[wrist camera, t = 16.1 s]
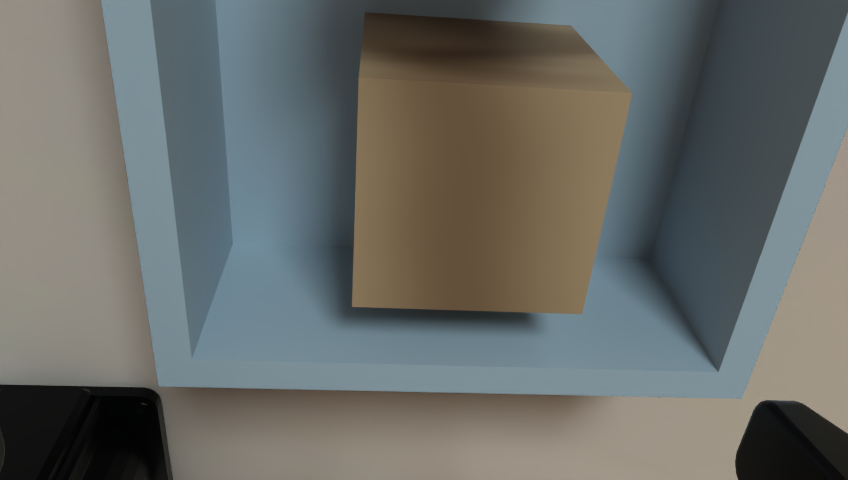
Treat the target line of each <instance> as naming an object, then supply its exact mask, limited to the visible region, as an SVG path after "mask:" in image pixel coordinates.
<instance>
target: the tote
mask: <svg viewBox="0 0 848 480" xmlns="http://www.w3.org/2000/svg"><path fill="white" fill-rule="evenodd" d="M101 4H102V10H103V17H104V24H105V31H106V37H107V44H108V51H109V57H110V64H111V71H112V78H113V84H114V91H115V98H116V104H117V111H118V118H119V125H120V131H121V138H122V145H123V151H124V158H125V165H126V172H127V178H128V185H129V192H130V198H131V205H132V212H133V219H134V225H135V232H136V239H137V245H138V252H139V259H140V266H141V272H142V279H143V286H144V292H145V299H146V306H147V313H148V319H149V326H150V333H151V339H152V346H153V353H154V360H155V366H156V373H157V380H158V386H160V387H208V388H255V389H302V390H350V391H397V392H445V393H492V394H539V395H587V396H634V397H682V398H729V399H742V396H743V394H744V391H745V389H746V386H747V384H748V381H749V378H750V376H751V373H752V371H753V368H754V366H755V363H756V361H757V358H758V355H759V353H760V350H761V348H762V345H763V343H764V340H765V337H766V335H767V332H768V330H769V327H770V325H771V322H772V319H773V317H774V314H775V312H776V309H777V307H778V304H779V301H780V299H781V296H782V294H783V291H784V289H785V286H786V283H787V281H788V278H789V276H790V273H791V271H792V268H793V265H794V263H795V260H796V258H797V255H798V253H799V250H800V247H801V245H802V242H803V240H804V237H805V235H806V232H807V229H808V227H809V224H810V222H811V219H812V217H813V214H814V212H815V209H816V206H817V204H818V201H819V199H820V196H821V194H822V191H823V188H824V186H825V183H826V181H827V178H828V176H829V173H830V170H831V168H832V165H833V163H834V160H835V158H836V155H837V152H838V150H839V147H840V145H841V142H842V140H843V137H844V134H845V132H846V129H847V127H848V0H101ZM365 12H368V13H384V14H399V15H415V16H430V17H446V18H462V19H477V20H493V21H508V22H524V23H540V24H555V25H571V26H572V27H573V28H574V29H575V30H576V31H577V33H578V34H579V35H580V36H581V37H582V38H583V39H584V40H585V41H586V43H587V44H588V45H589V46H590V47H591V48H592V49H593V50H594V51H595V52H596V54H597V55H598V56H599V57H600V58H601V59H602V60H603V61H604V62H605V64H606V65H607V66H608V67H609V68H610V69H611V70H612V71H613V72H614V73H615V75H616V76H617V77H618V78H619V79H620V80H621V81H622V82H623V83H624V85H625V86H626V87H627V88H628V89H629V90H630V91H631V92H632V97H631V101H630V106H629V110H628V114H627V119H626V123H625V128H624V132H623V136H622V141H621V145H620V150H619V154H618V158H617V163H616V167H615V172H614V176H613V181H612V185H611V189H610V194H609V198H608V203H607V207H606V211H605V216H604V220H603V225H602V229H601V233H600V238H599V242H598V247H597V251H596V256H595V260H594V264H593V269H592V273H591V278H590V282H589V286H588V291H587V295H586V300H585V304H584V308H583V313H582V314H559V313H527V312H496V311H465V310H433V309H402V308H370V307H352V291H353V257H354V222H355V188H356V153H357V119H358V84H359V69H360V59H361V48H362V38H363V28H364V17H365Z"/></svg>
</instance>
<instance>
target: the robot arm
mask: <svg viewBox="0 0 848 480" xmlns="http://www.w3.org/2000/svg"><path fill="white" fill-rule="evenodd" d="M139 402H143V403H146V404H147V405H142V404H140V403H139ZM735 467H736V474H737V478H738V480H848V434H847V433H846V432H844V431H843V430H841V429H840V428H838V427H837V426H835V425H834V424H832V423H831V422H830V421H828V420H827V419H825V418H824V417H822V416H821V415H819V414H818V413H816V412H815V411H813V410H812V409H810V408H809V407H807V406H806V405H804V404H802V403H800V402H796V401H776V400H766V401H762V402H760V403H759V404H758V405H757V406H756V407H755V409H754V411H753V413H752V416H751V418H750V421H749V423H748V425H747V428H746V430H745V433H744V435H743V438H742V440H741V443H740V445H739V448H738V450H737V454H736V460H735ZM0 480H173V479H172V472H171V465H170V458H169V452H168V445H167V438H166V431H165V425H164V418H163V411H162V405H161V399H160V397H159V395H158V394H157V393H156V392H155V391H153V390H151V389H148V388H136V387H88V386H40V385H0Z"/></svg>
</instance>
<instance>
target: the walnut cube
mask: <svg viewBox="0 0 848 480" xmlns="http://www.w3.org/2000/svg"><path fill="white" fill-rule="evenodd" d="M631 97H632V92H631V91H630V90H629V89H628V88H627V87H626V86H625V85H624V83H623V82H622V81H621V80H620V79H619V78H618V77H617V76H616V75H615V73H614V72H613V71H612V70H611V69H610V68H609V67H608V66H607V65H606V64H605V62H604V61H603V60H602V59H601V58H600V57H599V56H598V55H597V54H596V52H595V51H594V50H593V49H592V48H591V47H590V46H589V45H588V44H587V43H586V41H585V40H584V39H583V38H582V37H581V36H580V35H579V34H578V33H577V31H576V30H575V29H574V28H573V27H572V26H571V25H555V24H540V23H524V22H508V21H493V20H477V19H462V18H446V17H430V16H415V15H399V14H384V13H368V12H365V17H364V28H363V38H362V48H361V59H360V69H359V84H358V119H357V153H356V188H355V222H354V257H353V291H352V307H370V308H402V309H433V310H465V311H496V312H527V313H559V314H582V313H583V308H584V304H585V300H586V295H587V291H588V286H589V282H590V278H591V273H592V269H593V264H594V260H595V256H596V251H597V247H598V242H599V238H600V233H601V229H602V225H603V220H604V216H605V211H606V207H607V203H608V198H609V194H610V189H611V185H612V181H613V176H614V172H615V167H616V163H617V158H618V154H619V150H620V145H621V141H622V136H623V132H624V128H625V123H626V119H627V114H628V110H629V106H630V101H631Z"/></svg>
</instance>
